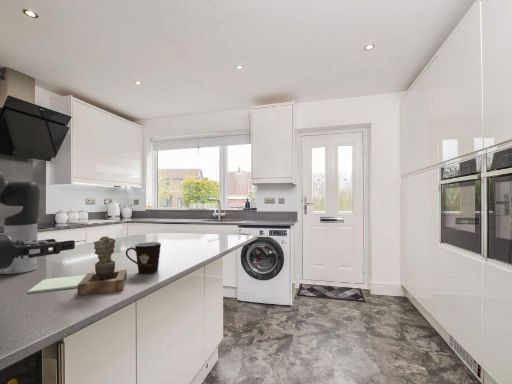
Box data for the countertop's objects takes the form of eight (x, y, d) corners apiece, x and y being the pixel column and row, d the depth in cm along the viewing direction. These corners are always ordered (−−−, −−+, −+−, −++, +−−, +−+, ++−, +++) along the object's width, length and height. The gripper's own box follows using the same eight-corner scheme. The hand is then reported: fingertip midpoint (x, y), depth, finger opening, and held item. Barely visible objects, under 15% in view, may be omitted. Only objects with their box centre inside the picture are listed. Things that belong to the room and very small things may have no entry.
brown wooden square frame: (77, 296, 70) (77, 284, 70) (87, 283, 81) (87, 273, 81) (122, 290, 74) (123, 279, 74) (126, 278, 85) (126, 269, 85)
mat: (27, 293, 72) (27, 291, 72) (44, 281, 83) (44, 279, 84) (78, 287, 77) (78, 285, 77) (87, 276, 88) (87, 274, 88)
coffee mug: (166, 270, 95) (166, 242, 96) (147, 276, 88) (147, 246, 88) (143, 267, 100) (143, 241, 101) (123, 272, 92) (123, 244, 93)
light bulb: (105, 290, 74) (105, 237, 75) (88, 289, 75) (89, 237, 76) (119, 284, 80) (119, 235, 80) (103, 283, 81) (104, 234, 81)
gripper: (-5, 238, 50) (81, 229, 65) (-37, 235, 56) (49, 228, 71) (-7, 277, 50) (80, 260, 65) (-38, 270, 56) (48, 256, 71)
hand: (64, 243), depth 68 cm, fingers open, 8 cm apart
